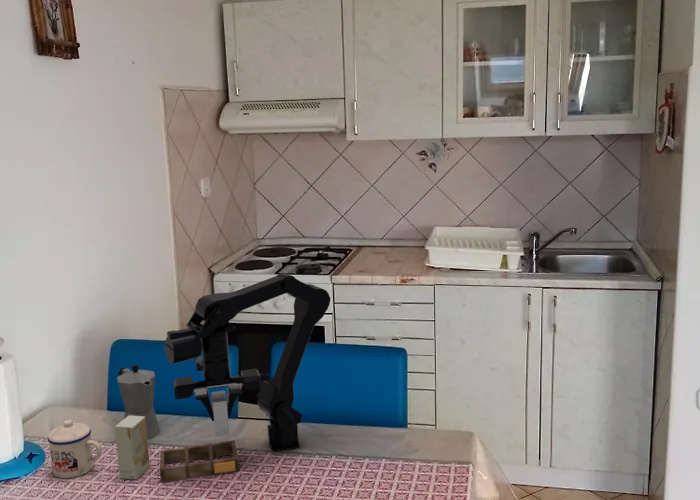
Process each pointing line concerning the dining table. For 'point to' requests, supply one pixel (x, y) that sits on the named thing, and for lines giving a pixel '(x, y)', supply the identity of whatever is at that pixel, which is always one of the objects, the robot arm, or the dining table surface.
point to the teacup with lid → (72, 449)
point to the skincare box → (132, 447)
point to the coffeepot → (139, 396)
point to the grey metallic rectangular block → (220, 413)
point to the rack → (201, 467)
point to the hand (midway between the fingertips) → (220, 419)
